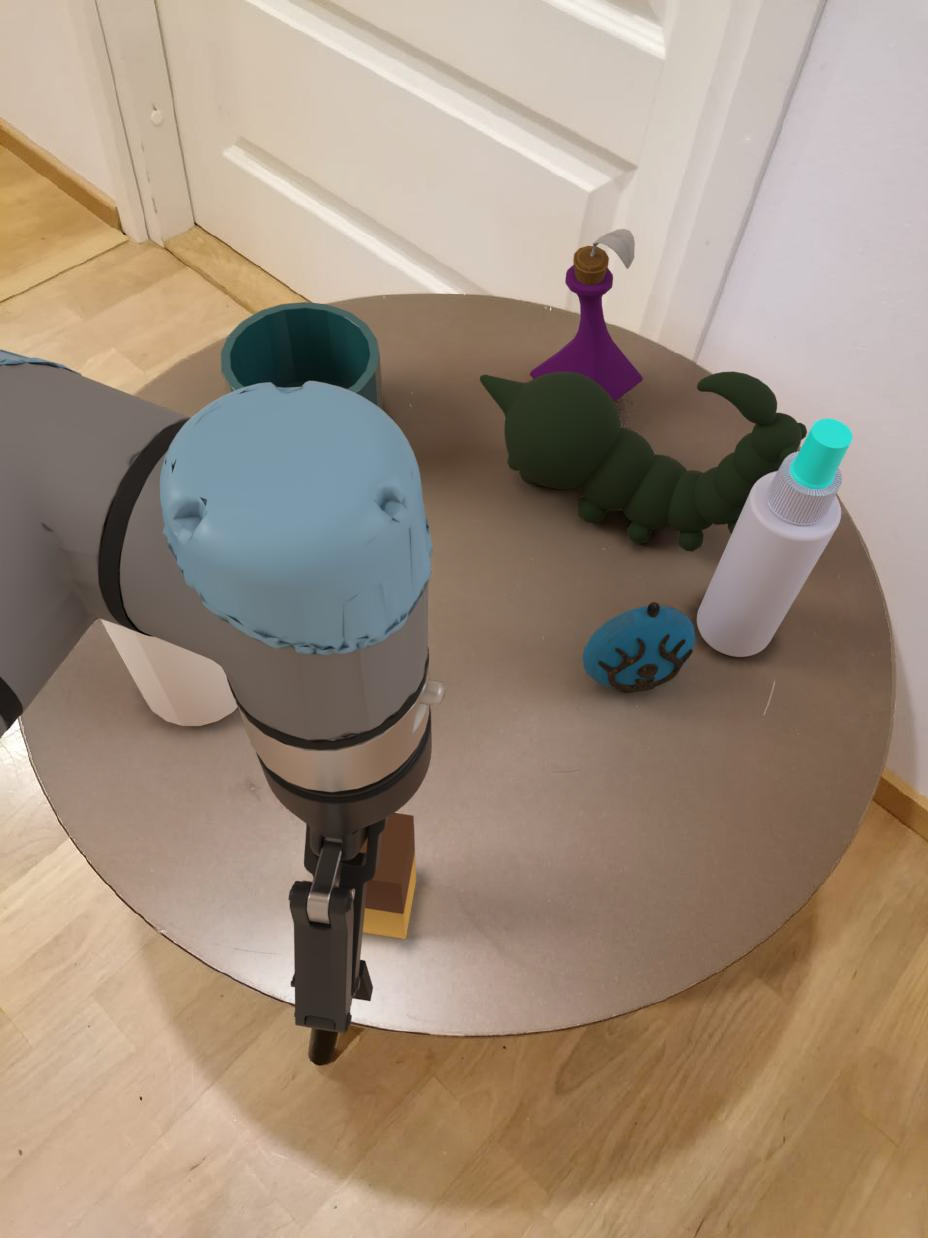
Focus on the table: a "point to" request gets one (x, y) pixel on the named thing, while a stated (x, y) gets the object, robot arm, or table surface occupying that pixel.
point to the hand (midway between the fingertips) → (372, 873)
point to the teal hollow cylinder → (303, 350)
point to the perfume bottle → (595, 320)
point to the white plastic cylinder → (174, 678)
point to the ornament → (640, 648)
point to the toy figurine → (638, 453)
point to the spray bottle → (775, 544)
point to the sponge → (392, 880)
